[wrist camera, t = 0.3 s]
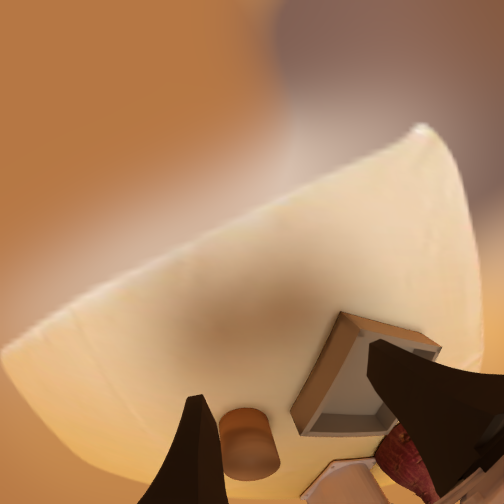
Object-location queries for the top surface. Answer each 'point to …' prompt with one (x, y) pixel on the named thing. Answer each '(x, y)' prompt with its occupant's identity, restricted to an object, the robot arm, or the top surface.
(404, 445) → the vegetable
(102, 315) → the top surface
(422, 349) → the grey bin
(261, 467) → the walnut cylinder
